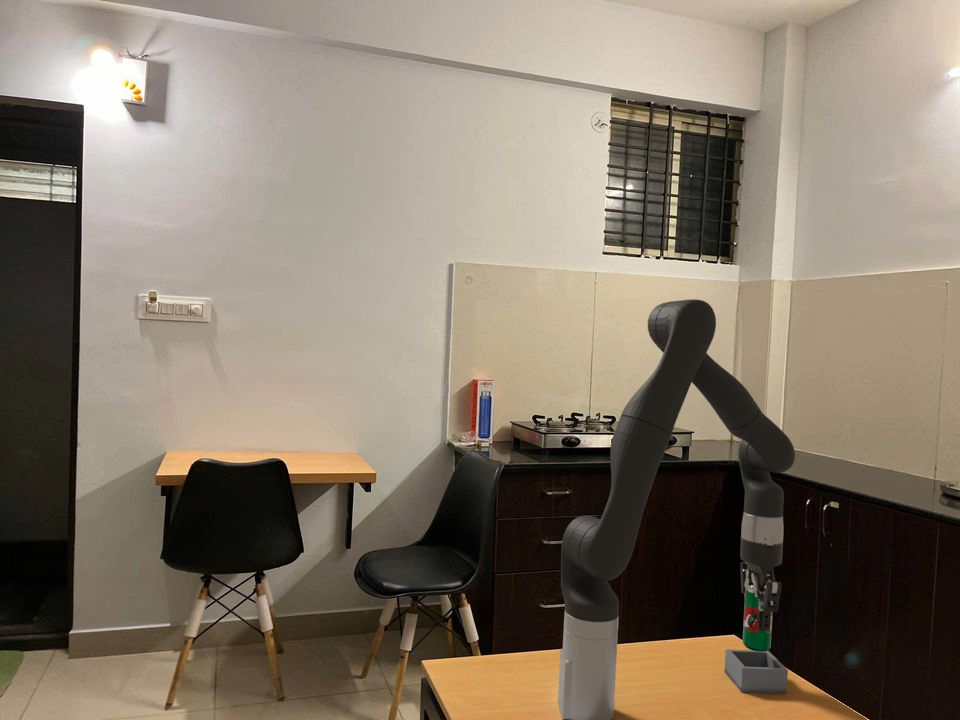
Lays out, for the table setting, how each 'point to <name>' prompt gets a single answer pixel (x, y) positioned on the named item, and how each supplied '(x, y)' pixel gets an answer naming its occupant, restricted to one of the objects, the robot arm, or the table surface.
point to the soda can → (754, 624)
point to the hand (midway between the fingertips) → (757, 624)
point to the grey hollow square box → (756, 671)
